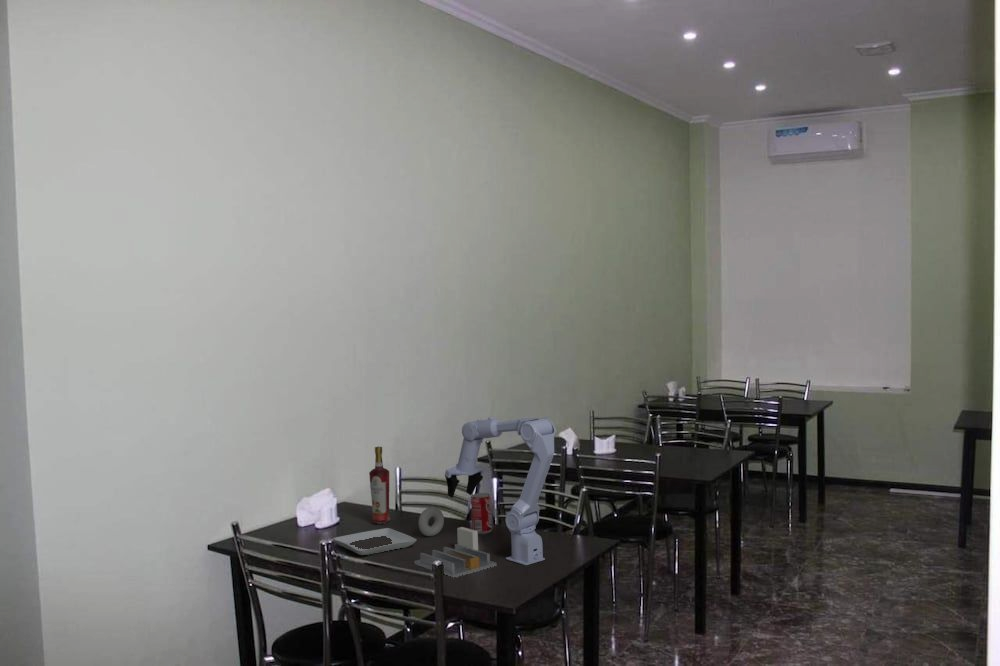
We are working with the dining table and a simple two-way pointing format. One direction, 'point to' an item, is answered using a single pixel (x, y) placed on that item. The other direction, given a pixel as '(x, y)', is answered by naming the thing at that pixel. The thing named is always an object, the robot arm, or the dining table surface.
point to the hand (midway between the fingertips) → (459, 494)
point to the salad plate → (397, 537)
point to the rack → (457, 560)
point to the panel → (467, 537)
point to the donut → (425, 518)
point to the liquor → (379, 489)
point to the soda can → (481, 513)
